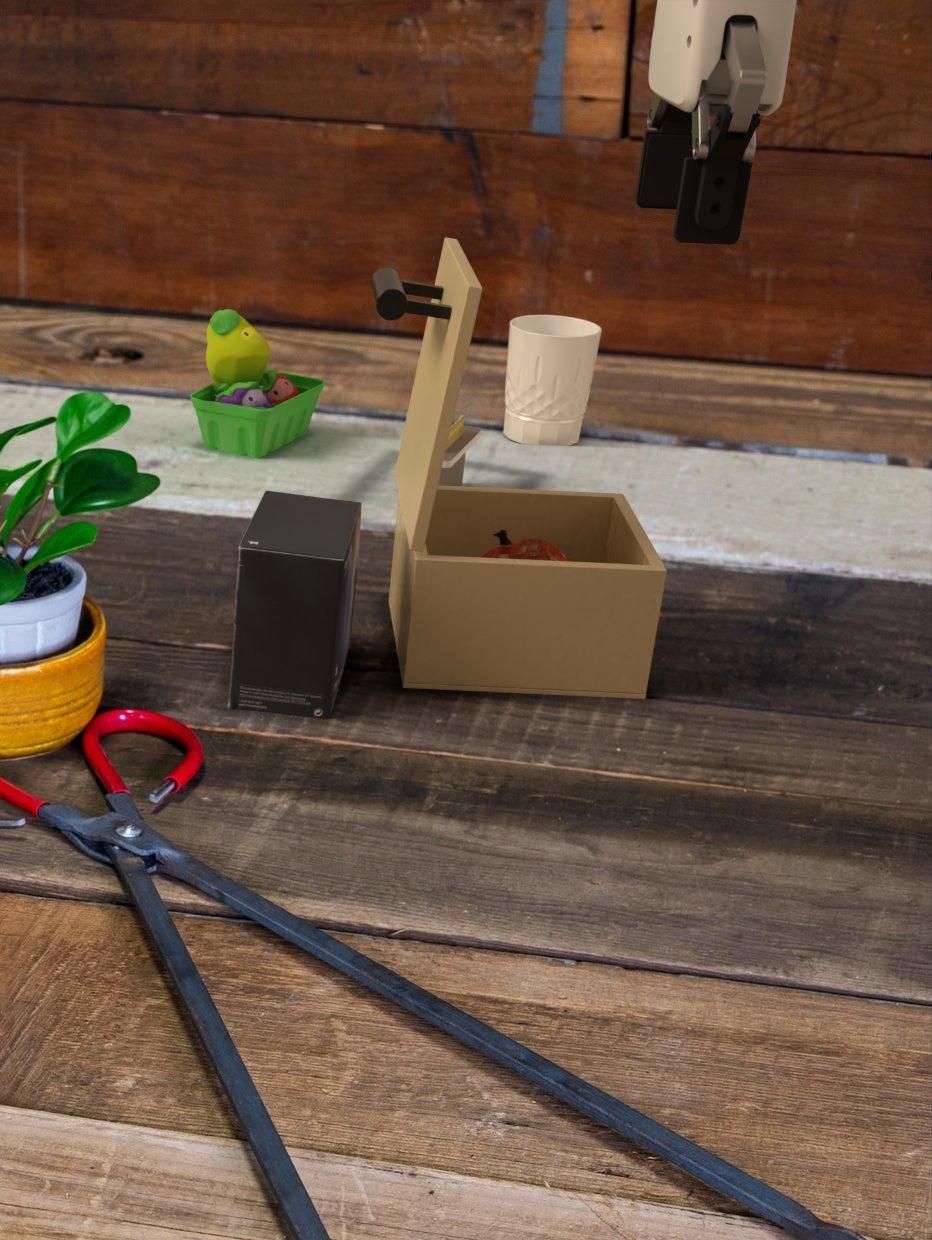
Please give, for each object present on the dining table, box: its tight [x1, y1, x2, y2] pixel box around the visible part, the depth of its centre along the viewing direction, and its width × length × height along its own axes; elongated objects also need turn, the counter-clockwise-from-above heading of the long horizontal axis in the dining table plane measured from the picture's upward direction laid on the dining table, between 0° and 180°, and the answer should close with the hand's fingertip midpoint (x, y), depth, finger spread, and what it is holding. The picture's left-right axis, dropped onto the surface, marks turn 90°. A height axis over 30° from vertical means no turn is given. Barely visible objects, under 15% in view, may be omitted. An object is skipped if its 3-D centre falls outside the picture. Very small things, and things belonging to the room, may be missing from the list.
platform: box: [438, 414, 483, 486], centre depth 132 cm, size 12×18×7 cm, turn 157°
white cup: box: [503, 314, 603, 447], centre depth 148 cm, size 8×8×10 cm
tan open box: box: [388, 485, 668, 700], centre depth 106 cm, size 15×14×9 cm
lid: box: [370, 237, 483, 552], centre depth 100 cm, size 15×14×5 cm
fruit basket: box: [189, 308, 326, 459], centre depth 143 cm, size 11×9×11 cm
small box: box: [226, 490, 362, 720], centre depth 100 cm, size 11×6×10 cm, turn 170°
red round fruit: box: [481, 529, 572, 562], centre depth 105 cm, size 7×7×10 cm
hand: (683, 224), depth 88 cm, fingers open, 9 cm apart
